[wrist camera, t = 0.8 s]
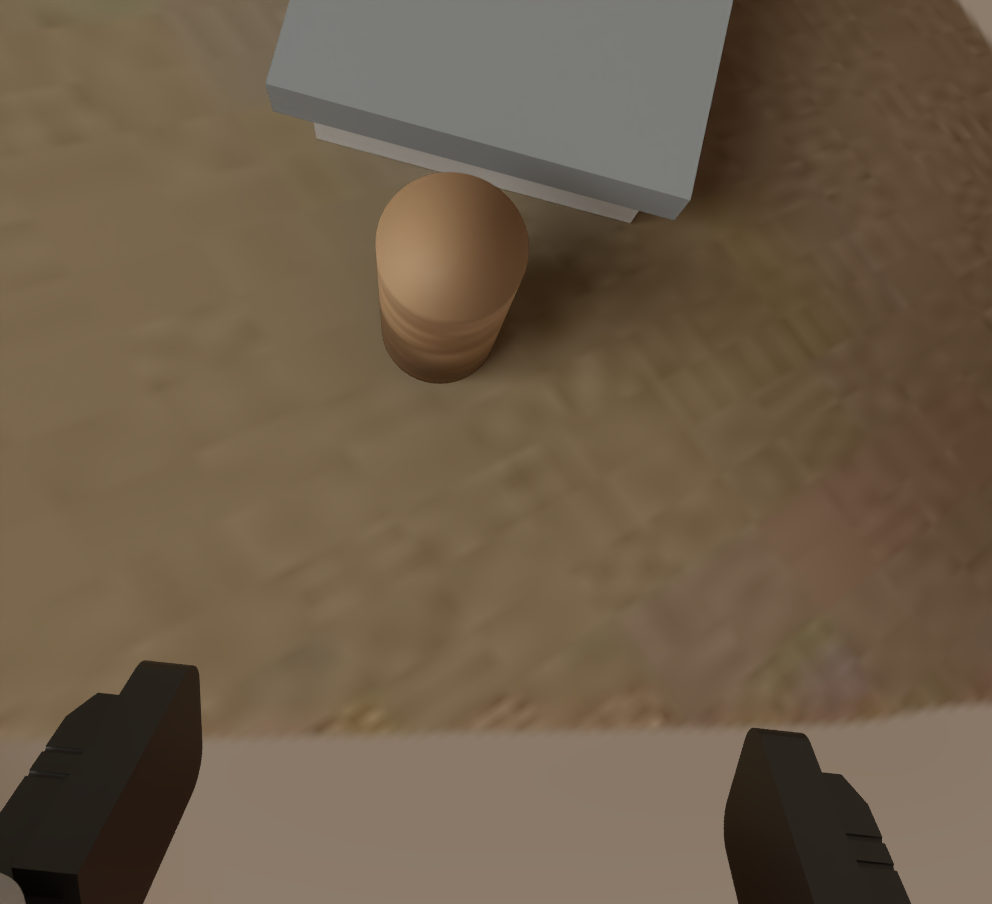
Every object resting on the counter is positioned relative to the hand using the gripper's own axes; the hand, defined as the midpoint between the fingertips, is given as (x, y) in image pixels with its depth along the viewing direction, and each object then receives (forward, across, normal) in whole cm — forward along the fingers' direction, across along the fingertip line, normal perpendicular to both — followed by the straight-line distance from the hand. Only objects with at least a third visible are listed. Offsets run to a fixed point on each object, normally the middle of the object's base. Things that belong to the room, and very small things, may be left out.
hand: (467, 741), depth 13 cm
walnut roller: (+26, +3, +2) cm, 27 cm away
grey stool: (+33, +1, -8) cm, 34 cm away
